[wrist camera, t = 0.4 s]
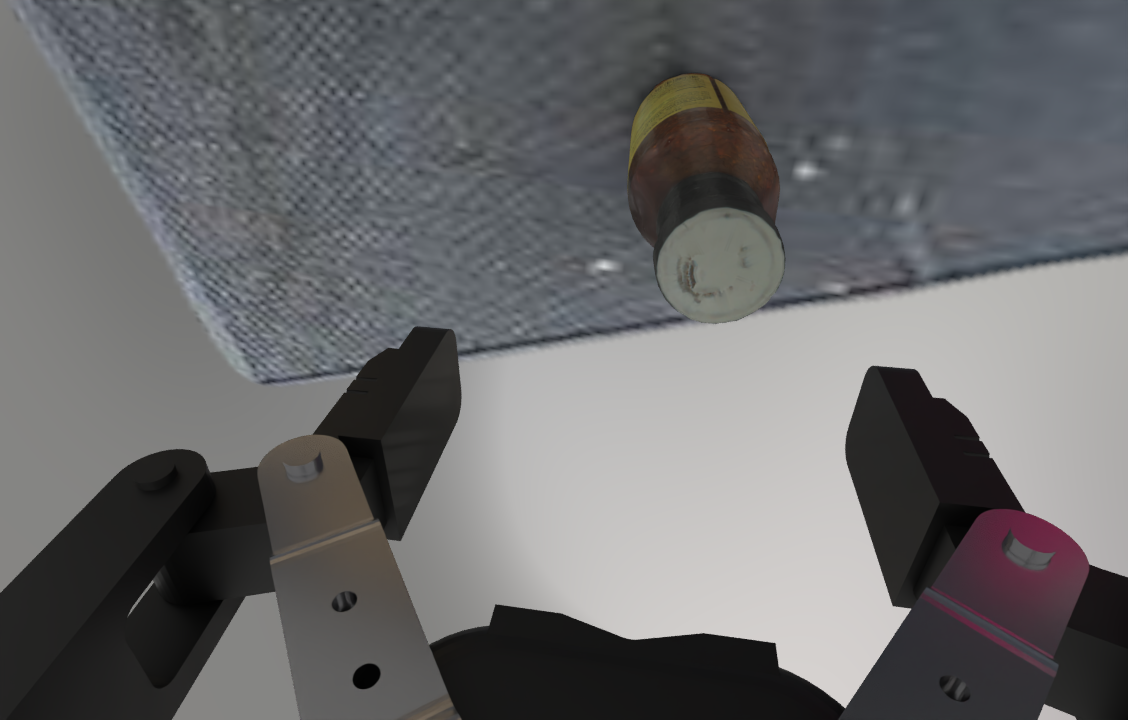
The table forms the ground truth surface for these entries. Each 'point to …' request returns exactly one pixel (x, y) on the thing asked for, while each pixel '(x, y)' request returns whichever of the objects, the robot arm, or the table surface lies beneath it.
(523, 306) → the table surface
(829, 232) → the table surface
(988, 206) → the table surface
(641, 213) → the sauce bottle
